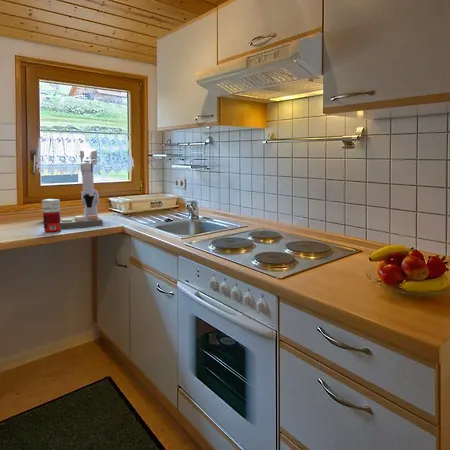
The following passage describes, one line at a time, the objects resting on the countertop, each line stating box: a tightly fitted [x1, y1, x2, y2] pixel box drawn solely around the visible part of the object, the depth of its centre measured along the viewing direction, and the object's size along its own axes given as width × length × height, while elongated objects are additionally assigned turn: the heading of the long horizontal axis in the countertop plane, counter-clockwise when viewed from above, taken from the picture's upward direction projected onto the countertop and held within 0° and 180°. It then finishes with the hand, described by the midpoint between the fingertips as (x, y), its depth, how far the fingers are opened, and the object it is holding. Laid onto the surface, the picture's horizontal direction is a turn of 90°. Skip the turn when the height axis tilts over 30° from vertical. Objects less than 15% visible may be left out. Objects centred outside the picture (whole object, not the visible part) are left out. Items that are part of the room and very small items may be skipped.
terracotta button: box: [88, 214, 98, 220], centre depth 226 cm, size 4×4×3 cm
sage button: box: [61, 218, 72, 222], centre depth 219 cm, size 4×4×3 cm
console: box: [60, 217, 104, 230], centre depth 222 cm, size 12×22×3 cm, turn 122°
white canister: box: [41, 198, 62, 222], centre depth 237 cm, size 7×7×13 cm
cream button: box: [74, 215, 85, 221], centre depth 222 cm, size 4×4×3 cm
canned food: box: [42, 209, 61, 234], centre depth 204 cm, size 8×8×11 cm
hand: (89, 207), depth 226 cm, fingers closed
